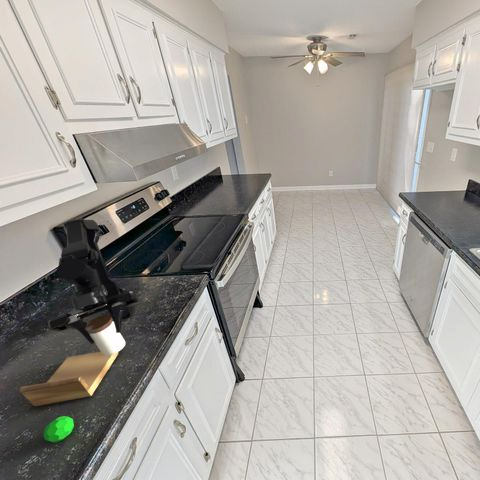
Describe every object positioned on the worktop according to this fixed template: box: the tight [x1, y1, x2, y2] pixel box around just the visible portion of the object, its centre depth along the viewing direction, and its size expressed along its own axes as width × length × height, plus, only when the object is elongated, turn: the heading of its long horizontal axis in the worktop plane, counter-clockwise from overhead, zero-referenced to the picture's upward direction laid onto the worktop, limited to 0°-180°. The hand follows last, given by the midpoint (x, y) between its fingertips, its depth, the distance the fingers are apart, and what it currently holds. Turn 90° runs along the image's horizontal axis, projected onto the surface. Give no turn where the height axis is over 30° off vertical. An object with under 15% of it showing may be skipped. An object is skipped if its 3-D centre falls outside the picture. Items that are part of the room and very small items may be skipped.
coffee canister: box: [85, 314, 126, 356], centre depth 72 cm, size 6×6×10 cm
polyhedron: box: [43, 415, 75, 443], centre depth 60 cm, size 5×5×5 cm
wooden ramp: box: [18, 351, 119, 407], centre depth 73 cm, size 14×14×7 cm
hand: (106, 338), depth 70 cm, fingers closed on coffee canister, 5 cm apart
